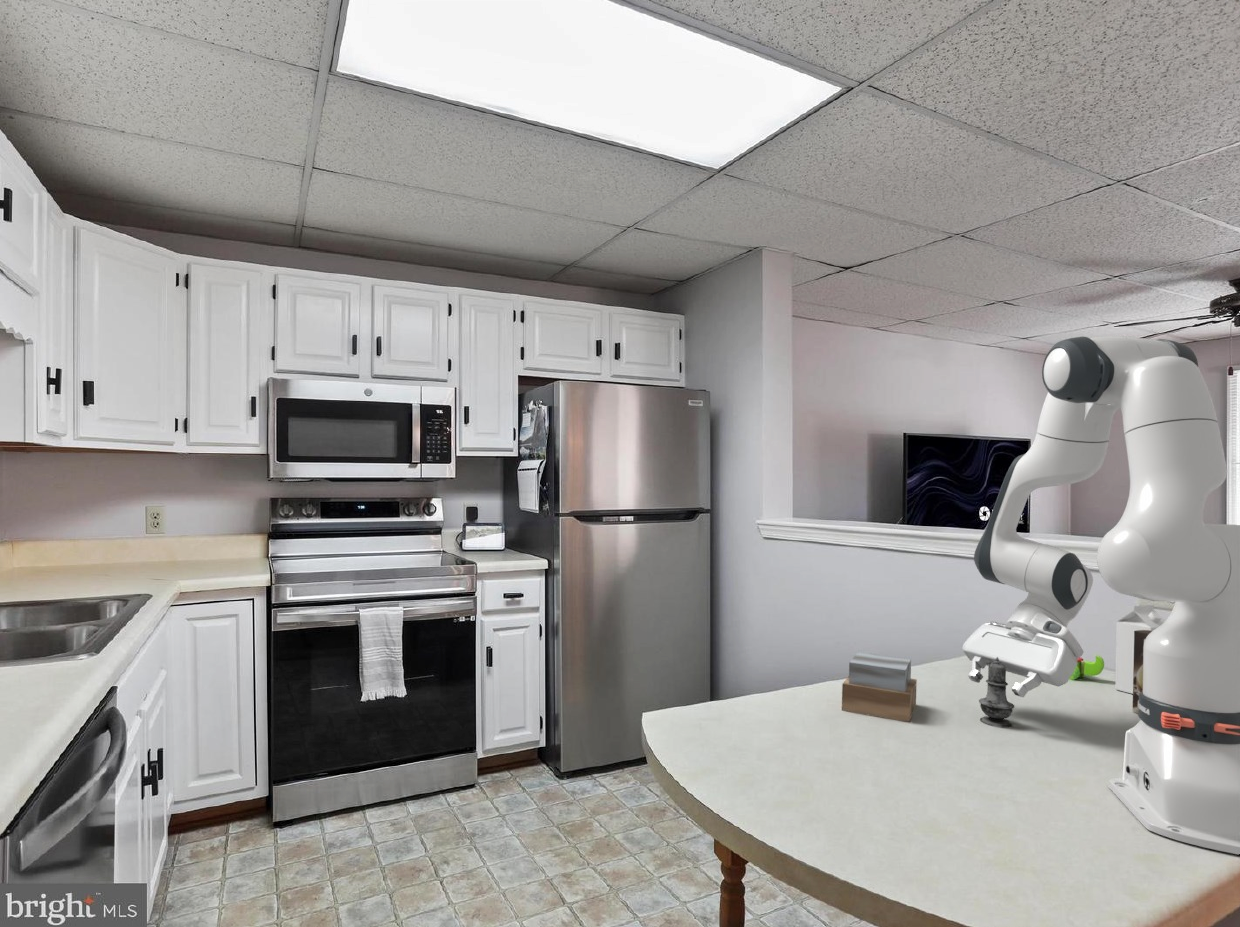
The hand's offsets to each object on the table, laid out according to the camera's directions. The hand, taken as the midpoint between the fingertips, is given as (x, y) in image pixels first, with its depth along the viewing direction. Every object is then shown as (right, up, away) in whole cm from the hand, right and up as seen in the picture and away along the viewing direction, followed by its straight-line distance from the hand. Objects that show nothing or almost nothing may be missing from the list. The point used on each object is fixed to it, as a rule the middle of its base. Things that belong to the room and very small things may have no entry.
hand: (994, 686), depth 132 cm
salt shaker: (0, -7, 0) cm, 7 cm away
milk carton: (+44, -9, +23) cm, 51 cm away
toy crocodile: (+34, -9, +38) cm, 52 cm away
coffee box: (+36, -8, +6) cm, 38 cm away
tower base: (-19, -6, +7) cm, 21 cm away
